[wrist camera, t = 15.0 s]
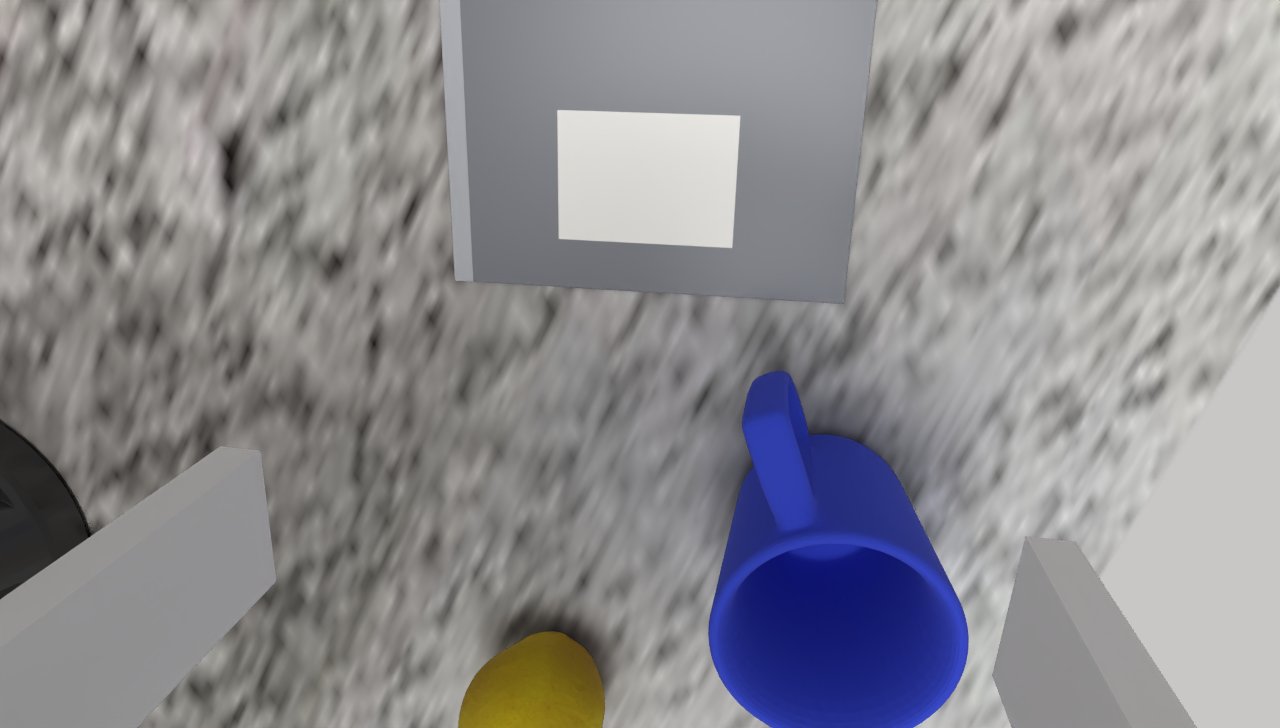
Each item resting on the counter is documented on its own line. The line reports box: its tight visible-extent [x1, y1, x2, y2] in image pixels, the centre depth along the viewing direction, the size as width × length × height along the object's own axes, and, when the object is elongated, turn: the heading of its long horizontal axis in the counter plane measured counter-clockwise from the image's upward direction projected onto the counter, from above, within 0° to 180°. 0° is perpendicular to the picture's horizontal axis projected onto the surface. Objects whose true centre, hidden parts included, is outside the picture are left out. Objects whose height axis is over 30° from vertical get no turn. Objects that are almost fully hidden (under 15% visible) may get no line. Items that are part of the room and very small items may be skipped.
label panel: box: [439, 0, 877, 304], centre depth 31 cm, size 16×18×1 cm
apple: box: [458, 631, 605, 728], centre depth 37 cm, size 6×6×8 cm
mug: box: [709, 371, 968, 728], centre depth 31 cm, size 8×12×10 cm
